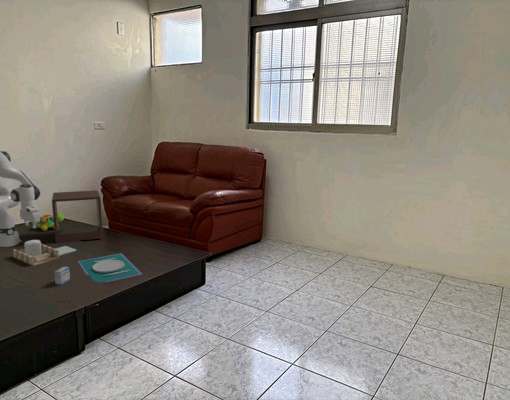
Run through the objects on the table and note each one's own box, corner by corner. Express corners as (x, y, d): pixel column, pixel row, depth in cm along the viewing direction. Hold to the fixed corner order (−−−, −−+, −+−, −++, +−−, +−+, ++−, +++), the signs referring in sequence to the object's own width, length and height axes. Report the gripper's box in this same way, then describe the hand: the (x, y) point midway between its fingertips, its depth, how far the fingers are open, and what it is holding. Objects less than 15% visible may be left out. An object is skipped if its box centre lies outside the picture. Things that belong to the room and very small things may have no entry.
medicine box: (61, 285, 227) (60, 272, 225) (55, 284, 228) (54, 271, 226) (70, 280, 235) (69, 267, 233) (63, 279, 235) (62, 266, 233)
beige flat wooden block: (31, 263, 260) (31, 260, 260) (48, 257, 271) (48, 255, 270) (35, 264, 258) (35, 261, 258) (52, 259, 268) (52, 256, 268)
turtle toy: (67, 226, 342) (66, 214, 340) (39, 231, 326) (38, 218, 323) (60, 222, 354) (59, 210, 351) (33, 227, 337) (32, 214, 335)
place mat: (77, 262, 265) (77, 259, 264) (121, 254, 282) (121, 251, 282) (93, 286, 229) (93, 282, 229) (142, 275, 247) (142, 271, 246)
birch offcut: (33, 260, 260) (32, 257, 260) (46, 255, 269) (46, 252, 269) (37, 261, 259) (36, 258, 258) (50, 256, 268) (50, 253, 267)
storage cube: (100, 228, 340) (97, 190, 333) (102, 238, 315) (100, 196, 307) (56, 232, 325) (53, 192, 318) (55, 242, 300) (51, 199, 292)
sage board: (47, 251, 280) (47, 250, 280) (65, 246, 292) (65, 245, 291) (58, 256, 273) (58, 255, 272) (76, 250, 284) (76, 249, 284)
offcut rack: (13, 257, 268) (12, 249, 266) (39, 250, 283) (38, 242, 281) (32, 266, 254) (31, 257, 252) (59, 258, 269) (58, 250, 267)
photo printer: (41, 254, 275) (40, 238, 272) (42, 256, 271) (40, 240, 268) (25, 257, 269) (23, 240, 266) (25, 259, 265) (23, 242, 263)
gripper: (16, 206, 265) (18, 225, 268) (31, 210, 254) (33, 230, 257) (25, 204, 270) (28, 223, 273) (40, 208, 259) (43, 228, 262)
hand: (30, 226), depth 265 cm, fingers open, 8 cm apart
